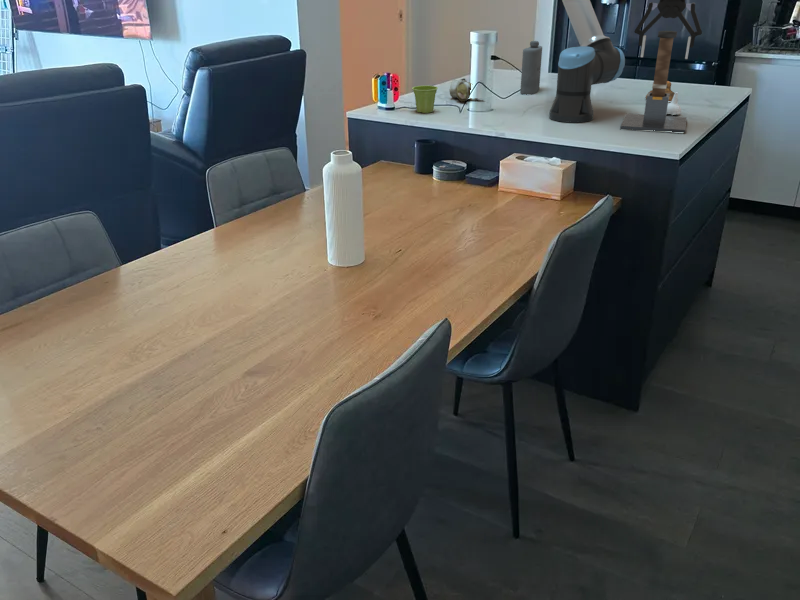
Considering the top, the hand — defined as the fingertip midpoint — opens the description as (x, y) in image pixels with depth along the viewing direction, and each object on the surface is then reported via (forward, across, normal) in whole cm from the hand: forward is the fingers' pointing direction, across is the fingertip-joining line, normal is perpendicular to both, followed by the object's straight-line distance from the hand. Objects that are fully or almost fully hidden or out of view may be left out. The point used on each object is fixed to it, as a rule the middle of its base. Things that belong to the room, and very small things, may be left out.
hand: (663, 57), depth 225 cm
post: (+14, 0, 0) cm, 14 cm away
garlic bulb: (+22, +5, +19) cm, 29 cm away
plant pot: (+22, -81, -3) cm, 84 cm away
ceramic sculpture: (+22, -74, +23) cm, 80 cm away
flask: (+22, -52, +48) cm, 74 cm away
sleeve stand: (+22, 0, 0) cm, 22 cm away
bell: (+22, 0, +46) cm, 51 cm away
